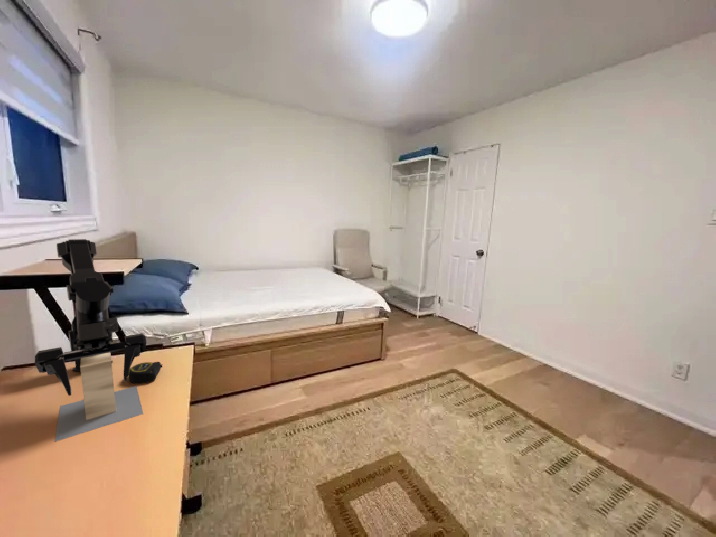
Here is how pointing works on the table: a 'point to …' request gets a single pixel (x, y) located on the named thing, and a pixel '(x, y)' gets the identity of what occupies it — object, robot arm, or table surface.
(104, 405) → the birch block
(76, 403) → the slate tile
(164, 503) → the table surface
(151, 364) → the tape measure
